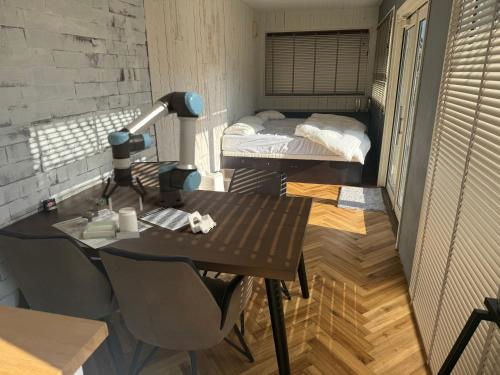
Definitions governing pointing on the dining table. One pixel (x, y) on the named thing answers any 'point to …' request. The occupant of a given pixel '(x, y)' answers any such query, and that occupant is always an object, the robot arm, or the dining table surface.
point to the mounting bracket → (201, 222)
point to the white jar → (128, 219)
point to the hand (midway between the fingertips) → (126, 210)
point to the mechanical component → (95, 203)
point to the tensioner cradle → (129, 233)
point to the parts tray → (101, 229)
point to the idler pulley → (89, 214)
